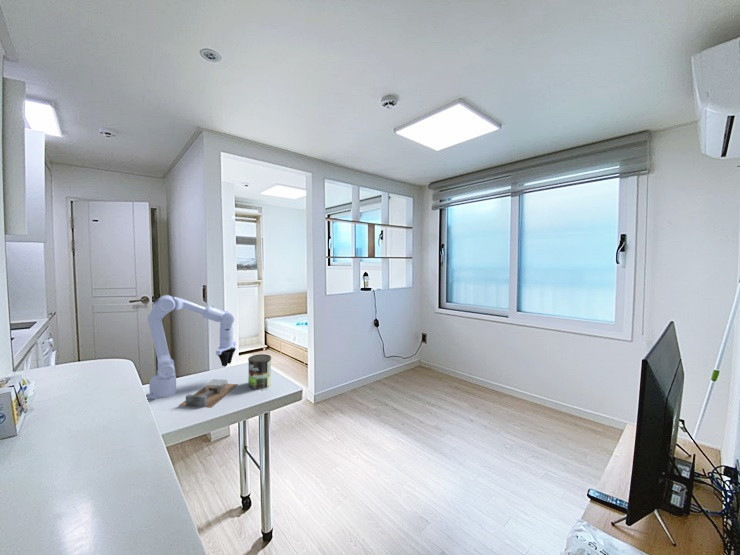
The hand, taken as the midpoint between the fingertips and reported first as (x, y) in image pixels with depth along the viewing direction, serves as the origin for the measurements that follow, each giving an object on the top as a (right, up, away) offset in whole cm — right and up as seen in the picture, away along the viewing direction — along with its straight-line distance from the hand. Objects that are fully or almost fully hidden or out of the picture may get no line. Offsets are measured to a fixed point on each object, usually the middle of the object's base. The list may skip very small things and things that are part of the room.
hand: (226, 364), depth 146 cm
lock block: (-1, -9, -8) cm, 12 cm away
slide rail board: (-1, -10, -12) cm, 16 cm away
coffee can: (+17, -10, -1) cm, 20 cm away
